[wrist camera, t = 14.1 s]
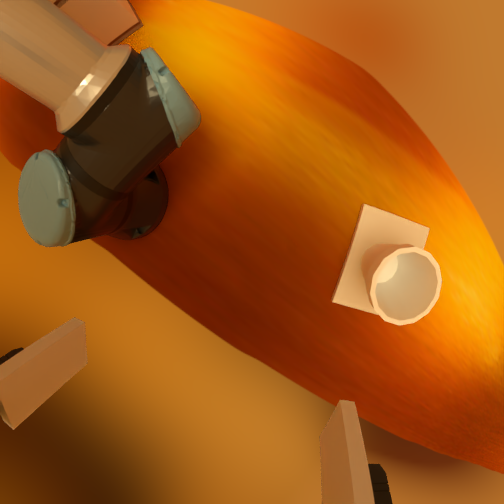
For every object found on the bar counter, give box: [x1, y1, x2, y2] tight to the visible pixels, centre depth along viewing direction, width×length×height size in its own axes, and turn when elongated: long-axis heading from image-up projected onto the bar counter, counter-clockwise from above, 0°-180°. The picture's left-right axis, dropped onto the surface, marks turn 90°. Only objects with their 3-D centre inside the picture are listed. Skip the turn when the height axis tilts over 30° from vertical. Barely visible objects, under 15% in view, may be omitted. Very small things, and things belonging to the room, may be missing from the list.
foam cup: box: [360, 243, 442, 325], centre depth 36 cm, size 10×9×13 cm
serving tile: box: [331, 204, 430, 315], centre depth 43 cm, size 12×16×2 cm
